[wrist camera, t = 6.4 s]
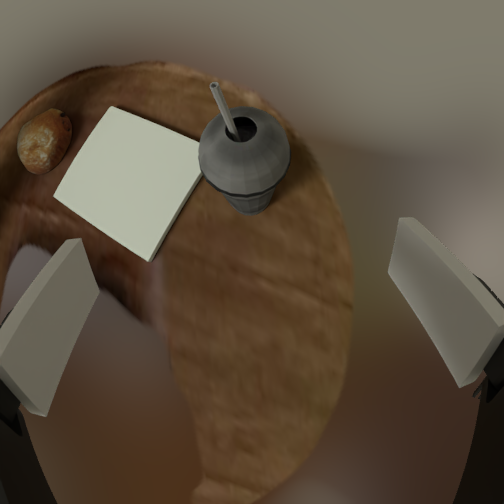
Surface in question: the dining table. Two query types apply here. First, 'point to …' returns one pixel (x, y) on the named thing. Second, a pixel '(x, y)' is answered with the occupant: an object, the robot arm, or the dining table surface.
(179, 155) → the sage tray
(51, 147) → the bread roll
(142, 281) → the dining table surface
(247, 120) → the beverage cup
